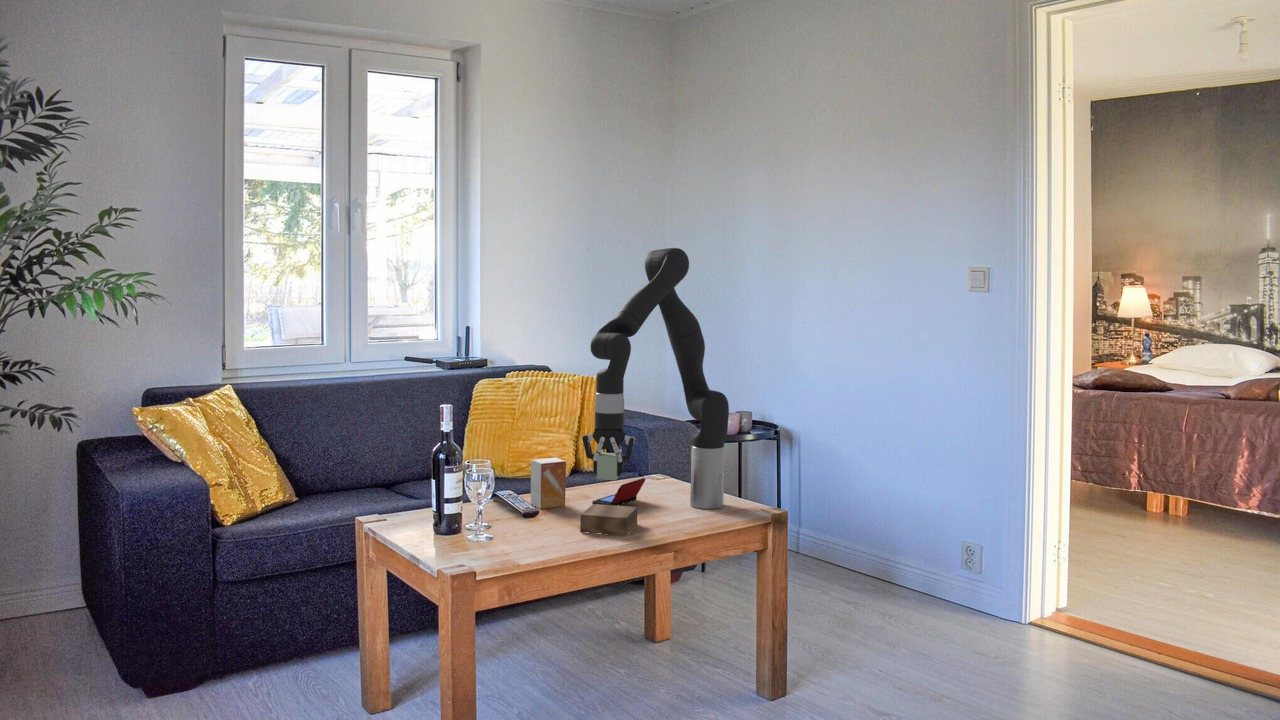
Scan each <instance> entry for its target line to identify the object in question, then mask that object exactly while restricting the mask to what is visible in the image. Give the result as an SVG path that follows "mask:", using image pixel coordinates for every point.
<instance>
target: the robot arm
mask: <svg viewBox="0 0 1280 720" xmlns="http://www.w3.org/2000/svg"><path fill="white" fill-rule="evenodd" d="M689 269H690V260H689V256H688V254H687V253H686V252H685V250H683V249H682V248H678V247H669V248H660V249H655V250H651V251H648V253H646V255H645V259H644V272H645V275H646V278H647V281H648V283H647V284H645V285H644V286H643V287H642V288H641V289H639V290H638V291H637V292H635V293H633V295H631V296H630V297H629V298H628V299H627V301H626V302H625V303H624V304H623V305H622V307H621V308H620V309H619V311H618V312H617V314H616V315H615V316H614V317H613V318H612V319H610V320H609V321H608V322H607V323H605V324H604V325H603V326H601V328H600V329H598V330H597V331H596V332H595V334H594V335H593V337H592V339H591V341H590V346H589V347H590V352H591V354H592V355H593V357H594V358H595V359H599V360H606V361H609V364H608V367H606V368H603V369H600V370H598V372H597V373H596V381H595V383H596V384H595V385H596V386H595V399H594V408H593V409H594V431H593V432H592V433H590V434H584V435H582V436H581V437H582V442H583V447H584V451H585V452H584V453H585V457H586V458H587V459H590V460H592V461H593V467H592V468H593V473H594V474H595V476H597V456H598V455H600V454H601V453H603V450H611V451H614V452H613V453H615V454H616V456H617V459H618V462H617V476H619V477H621V475H622V474H623V473H624V464H625V462H626V461H629V460H630V459H631V457H632V453H633V449H634V446H635V443H636V436H634V435H633V436H629V435H626V433H625V427H624V426H625V396H624V382H625V380H624V378H625V374H626V371H627V367H628V363H629V360H630V356H631V350H632V347H631V346H632V344H631V341H630V338H631V337H633V336H635V335H636V334H637V333H638V332H639V331H640V329H641V327H642V326H643V324H645V322H646V320H647V319H648V318H649V316H650V315H651V313H652V312H653V311H654V309H655V308H656V307H657V306H658V307H659V310H660V312H661V313H660V314H661V316H662V319H663V322H664V325H665V329H666V332H667V336H668V339H669V342H670V346H671V349H672V351H673V352H672V353H673V355H674V357H675V358H674V359H675V361H676V364H677V365H676V366H677V368H678V373H679V374H680V378H681V383H682V387H683V392H684V400H685V403H686V408H687V411H688V412H689V414H690V416H691V417H692V418H694V419H695V420H696V421H699V422H700V428H699V431H698V433H695V434H693V435H692V437H691V455H690V456H691V459H690V503H689V504H690V506H691V507H693V508H697V509H705V510H707V509H708V510H715V509H722V508H723V506H724V492H725V491H724V490H725V487H724V486H725V485H724V484H725V471H724V470H725V469H724V464H725V461H724V460H725V459H724V458H725V441H726V438H727V435H728V430H729V416H730V406H729V405H730V404H729V400H728V398H727V396H726V395H725V394H724V393H723V392H721V391H718V390H712V389H710V388H709V386H708V383H707V380H706V376H705V373H704V368H703V367H704V359H705V354H706V353H705V352H706V351H705V350H706V343H705V339H704V335H703V333H702V332H703V331H702V328H701V325H700V323H699V321H698V319H697V318H696V316H695V314H694V313H693V312H692V311H691V310H690V309H689V308H688V306H686V305H685V303H684V302H683V301H682V300H681V299H680V297H679V295H678V294H677V292H676V288H675V287H676V286H677V285H679V283H681V281H682V280H684V279H685V277H686V276H687V274H688V272H689ZM593 439H594V441H595V443H596V444H597V446H596V449H595V452H594V453H593V449H592V445H591V443H592V442H593ZM623 441H625V444H626V445H627V447H626V452H625V454H623V451H622V450H623V449H622V446H621V444H622V443H623Z"/></svg>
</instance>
